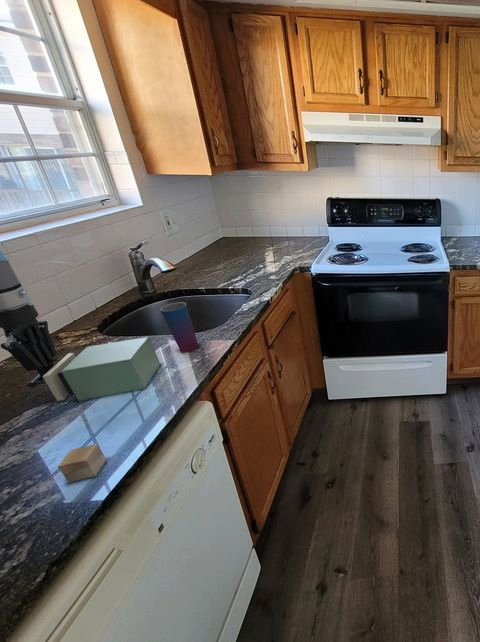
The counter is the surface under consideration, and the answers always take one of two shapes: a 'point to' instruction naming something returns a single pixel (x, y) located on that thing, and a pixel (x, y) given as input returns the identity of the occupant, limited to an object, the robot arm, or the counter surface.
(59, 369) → the black and cream piece
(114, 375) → the green box
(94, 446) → the block
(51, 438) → the counter surface
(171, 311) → the cup
